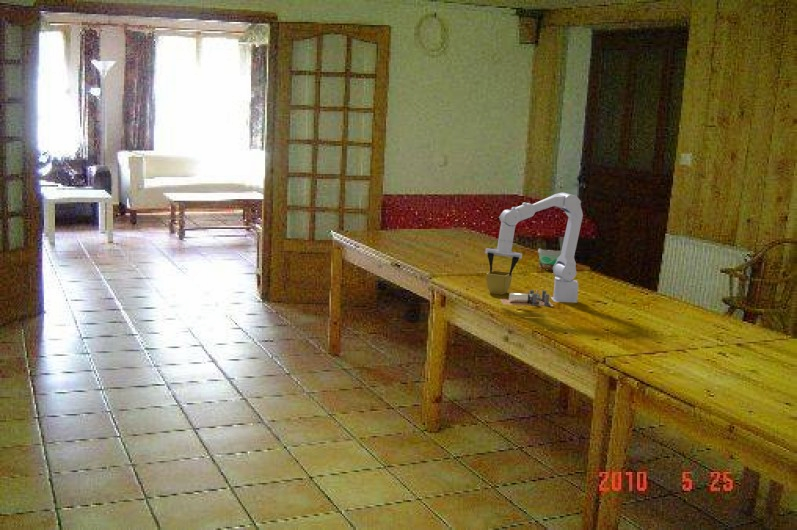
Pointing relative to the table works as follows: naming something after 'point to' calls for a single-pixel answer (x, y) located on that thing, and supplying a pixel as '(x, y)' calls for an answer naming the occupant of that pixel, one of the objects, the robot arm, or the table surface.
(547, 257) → the food container
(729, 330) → the table surface
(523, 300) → the tube
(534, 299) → the rail
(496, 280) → the flower pot
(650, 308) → the table surface
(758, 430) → the table surface
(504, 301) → the tile
